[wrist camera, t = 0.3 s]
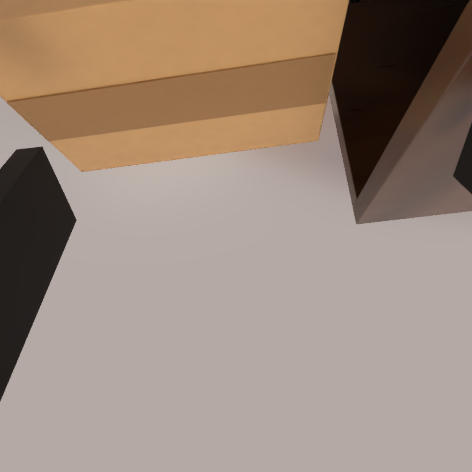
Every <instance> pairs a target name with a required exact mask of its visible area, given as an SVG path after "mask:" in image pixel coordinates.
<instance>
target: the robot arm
mask: <svg viewBox="0 0 472 472" xmlns="http://www.w3.org/2000/svg"><path fill="white" fill-rule="evenodd" d="M453 177H454V178H455V179H456V180H457V181H458V182H459V183H460V184H461V185H462V186H463V187H465V188H466V189H467V190H468V191H469V192H470V193H471V194H472V123H471V126H470V129H469V131H468V134H467V137H466V140H465V143H464V146H463V149H462V151H461V154H460V157H459V160H458V163H457V166H456V168H455V171H454V174H453ZM75 222H76V218H75V216H74V214H73V211H72V210H71V207H70V205H69V203H68V201H67V199H66V197H65V194H64V192H63V190H62V188H61V186H60V184H59V181H58V179H57V177H56V175H55V173H54V171H53V169H52V167H51V164H50V162H49V160H48V158H47V156H46V154H45V152H44V150H43V147H35V148H27V149H19V150H16V151H15V152H14V153H13V154H12V156H11V157H10V158H9V159H8V160H7V162H6V163H5V164H4V165H3V166H2V168H1V169H0V401H1V398H2V396H3V394H4V391H5V389H6V386H7V384H8V382H9V379H10V377H11V374H12V372H13V370H14V367H15V365H16V363H17V360H18V358H19V356H20V353H21V351H22V348H23V346H24V344H25V341H26V338H27V337H28V334H29V332H30V329H31V327H32V325H33V322H34V320H35V317H36V315H37V313H38V310H39V308H40V306H41V303H42V301H43V298H44V296H45V294H46V291H47V289H48V286H49V284H50V282H51V279H52V277H53V275H54V272H55V270H56V267H57V265H58V263H59V260H60V258H61V256H62V253H63V251H64V248H65V246H66V243H67V241H68V239H69V237H70V234H71V232H72V230H73V227H74V225H75Z"/></svg>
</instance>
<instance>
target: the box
mask: <svg viewBox="0 0 472 472" xmlns="http://www.w3.org/2000/svg"><path fill="white" fill-rule="evenodd" d="M348 3H349V0H0V96H1V97H2V98H3V99H4V100H5V101H6V102H7V103H8V104H9V105H10V106H11V107H12V108H13V109H14V110H15V111H16V112H17V113H19V114H20V115H21V116H22V117H23V118H24V119H25V120H26V121H27V122H28V123H29V124H30V125H31V126H33V127H34V128H35V129H36V130H37V131H38V132H39V133H40V134H41V135H42V136H43V137H44V138H45V139H47V140H48V141H49V142H50V143H51V144H52V145H54V146H55V147H56V148H57V149H58V150H59V151H60V152H61V153H62V154H63V155H64V156H65V157H66V158H68V159H69V160H70V161H71V162H72V163H73V164H74V165H75V166H76V167H77V168H78V169H79V170H80V171H82V172H84V171H92V170H100V169H108V168H115V167H122V166H130V165H138V164H146V163H153V162H160V161H168V160H175V159H183V158H191V157H198V156H206V155H214V154H221V153H228V152H237V151H244V150H252V149H259V148H267V147H274V146H282V145H290V144H297V143H305V142H312V141H318V140H319V135H320V131H321V126H322V122H323V117H324V113H325V108H326V103H327V99H328V94H329V90H330V85H331V81H332V76H333V72H334V67H335V63H336V58H337V53H338V49H339V44H340V40H341V35H342V31H343V26H344V22H345V17H346V13H347V8H348Z"/></svg>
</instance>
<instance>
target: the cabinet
mask: <svg viewBox="0 0 472 472" xmlns="http://www.w3.org/2000/svg"><path fill="white" fill-rule="evenodd" d="M329 94H330V99H331V104H332V109H333V113H334V118H335V123H336V128H337V133H338V138H339V143H340V148H341V153H342V157H343V162H344V167H345V172H346V177H347V182H348V186H349V191H350V196H351V201H352V205H353V210H354V215H355V220H356V224H363V223H371V222H380V221H388V220H397V219H406V218H414V217H422V216H431V215H440V214H448V213H457V212H466V211H472V194H471V193H470V192H469V191H468V190H467V189H466V188H465V187H463V186H462V185H461V184H460V183H459V182H458V181H457V180H456V179H455V178H454V177H453V174H454V171H455V168H456V166H457V163H458V160H459V157H460V154H461V151H462V149H463V146H464V143H465V140H466V137H467V134H468V131H469V129H470V126H471V123H472V0H367V1H361V2H354V3H348V8H347V13H346V17H345V22H344V26H343V31H342V35H341V40H340V44H339V49H338V53H337V58H336V63H335V67H334V72H333V76H332V81H331V85H330V90H329Z"/></svg>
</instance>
